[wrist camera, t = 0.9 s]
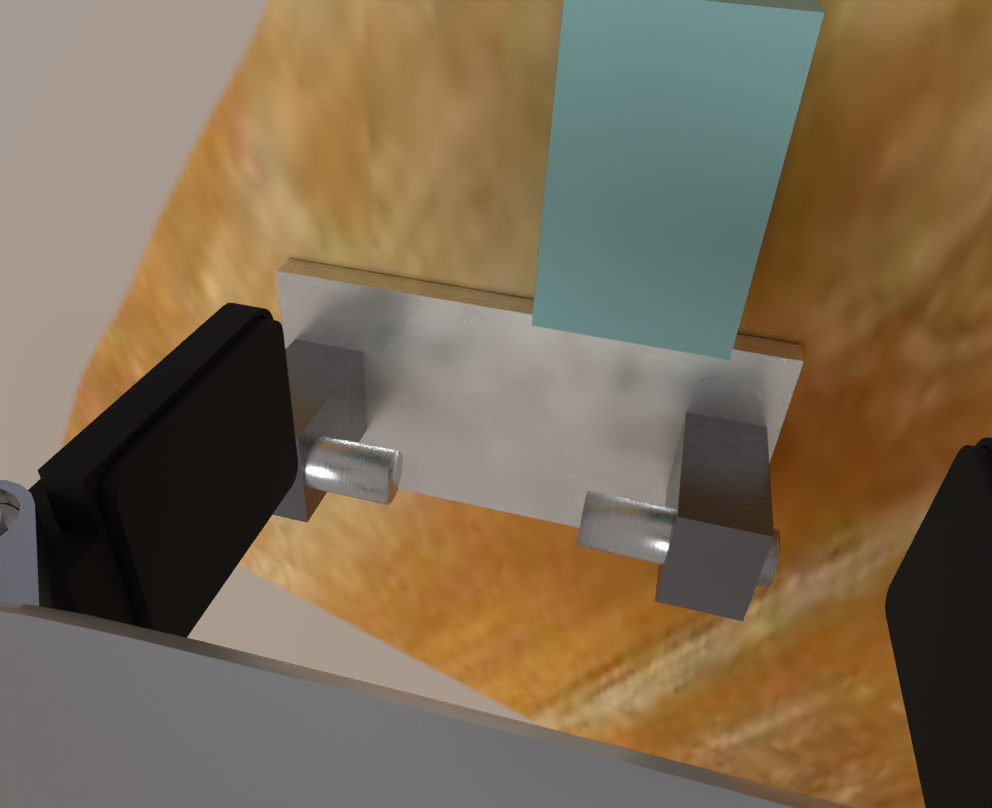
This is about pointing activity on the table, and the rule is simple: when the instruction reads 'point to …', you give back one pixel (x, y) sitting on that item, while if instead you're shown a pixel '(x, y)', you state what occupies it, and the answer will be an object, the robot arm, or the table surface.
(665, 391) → the shaft rig
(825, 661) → the table surface
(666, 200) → the teal block
